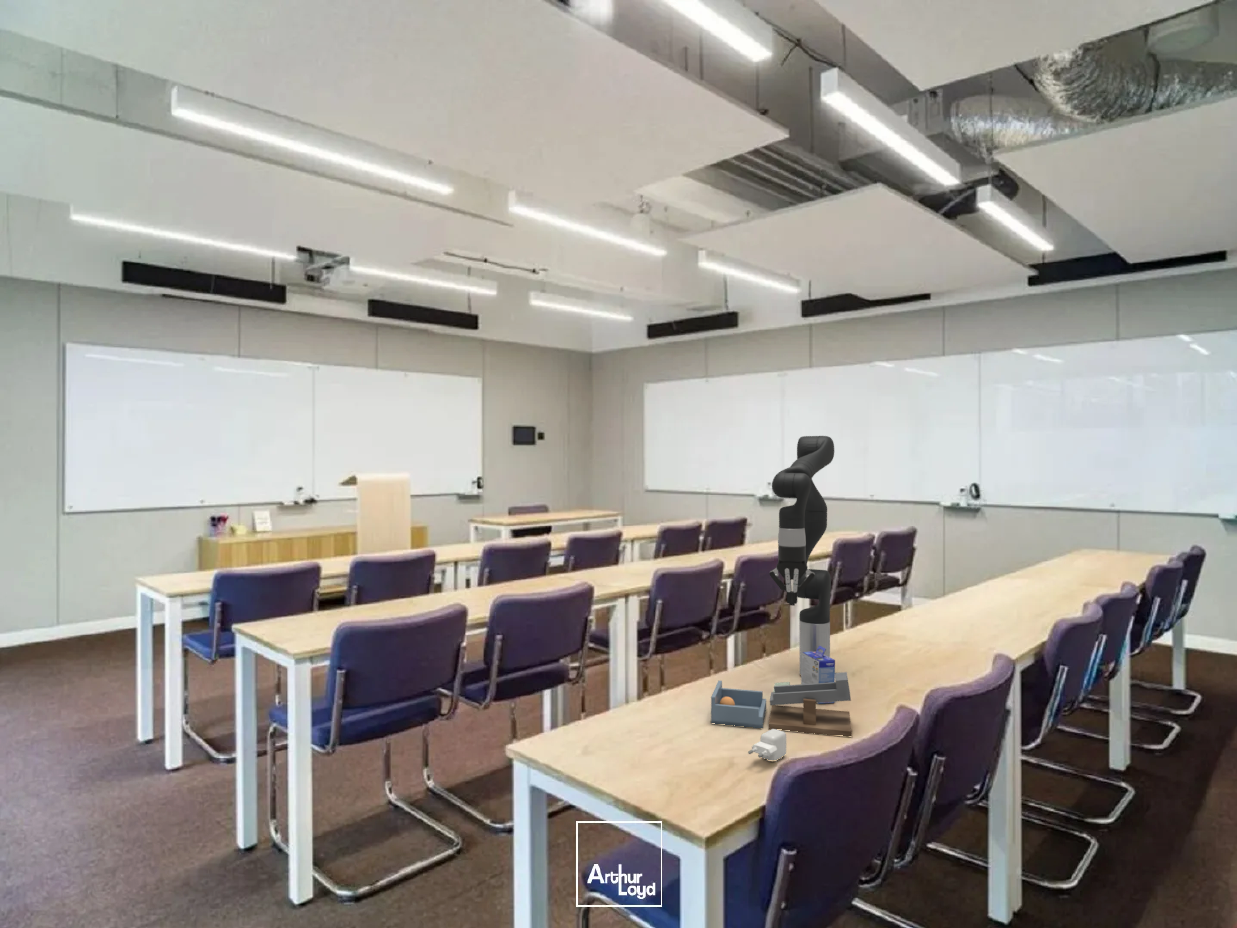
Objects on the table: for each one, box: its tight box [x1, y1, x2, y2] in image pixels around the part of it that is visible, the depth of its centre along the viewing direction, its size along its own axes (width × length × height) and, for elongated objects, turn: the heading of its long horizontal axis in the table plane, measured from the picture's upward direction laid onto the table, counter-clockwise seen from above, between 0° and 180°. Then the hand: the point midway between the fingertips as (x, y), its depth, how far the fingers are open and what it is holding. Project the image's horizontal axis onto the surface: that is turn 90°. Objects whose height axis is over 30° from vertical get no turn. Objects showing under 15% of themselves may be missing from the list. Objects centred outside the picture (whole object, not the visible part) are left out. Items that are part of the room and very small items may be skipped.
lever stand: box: [768, 699, 853, 737], centre depth 186 cm, size 14×20×8 cm
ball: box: [720, 697, 735, 706], centre depth 191 cm, size 4×4×4 cm
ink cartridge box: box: [800, 646, 836, 705], centre depth 204 cm, size 10×6×14 cm, turn 15°
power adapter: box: [747, 729, 787, 760], centre depth 163 cm, size 11×5×6 cm, turn 137°
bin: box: [710, 680, 767, 729], centre depth 191 cm, size 14×13×7 cm
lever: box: [769, 671, 852, 706], centre depth 189 cm, size 15×20×6 cm
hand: (792, 604), depth 203 cm, fingers closed
